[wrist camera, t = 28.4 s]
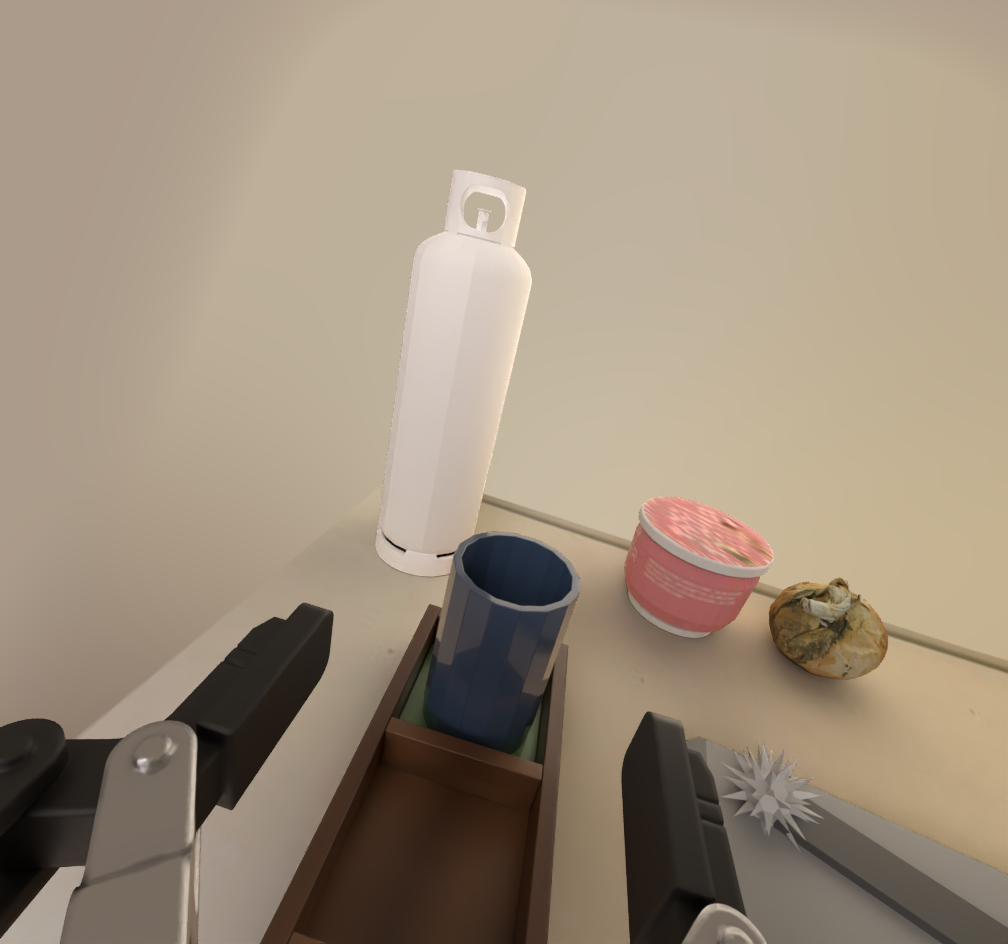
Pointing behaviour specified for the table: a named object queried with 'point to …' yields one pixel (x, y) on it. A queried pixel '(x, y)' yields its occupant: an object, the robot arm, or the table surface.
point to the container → (692, 566)
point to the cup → (498, 638)
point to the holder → (432, 829)
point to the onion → (828, 629)
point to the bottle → (452, 379)
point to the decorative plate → (844, 865)
